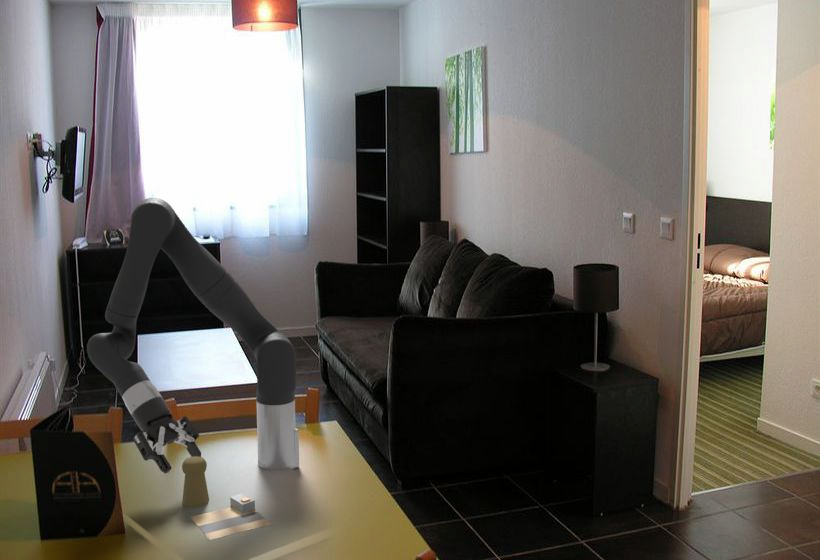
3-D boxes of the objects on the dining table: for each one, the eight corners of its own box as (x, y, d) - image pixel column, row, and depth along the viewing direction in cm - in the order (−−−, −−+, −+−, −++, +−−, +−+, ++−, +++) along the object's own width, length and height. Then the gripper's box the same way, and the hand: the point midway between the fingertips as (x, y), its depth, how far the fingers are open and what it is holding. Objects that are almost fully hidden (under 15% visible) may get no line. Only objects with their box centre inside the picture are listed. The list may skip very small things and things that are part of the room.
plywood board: (249, 508, 182) (248, 502, 181) (270, 529, 172) (270, 524, 171) (190, 522, 175) (190, 516, 174) (209, 545, 165) (209, 539, 165)
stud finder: (242, 501, 182) (242, 491, 182) (254, 509, 178) (254, 499, 178) (230, 505, 180) (230, 495, 180) (242, 513, 176) (242, 503, 176)
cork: (215, 502, 184) (213, 455, 182) (200, 514, 179) (198, 465, 177) (192, 498, 186) (190, 451, 184) (176, 509, 181) (174, 461, 179)
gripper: (127, 404, 179) (166, 466, 175) (178, 388, 191) (216, 446, 187) (112, 423, 183) (150, 484, 179) (163, 406, 195) (200, 463, 190)
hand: (183, 465), depth 183 cm, fingers open, 8 cm apart
